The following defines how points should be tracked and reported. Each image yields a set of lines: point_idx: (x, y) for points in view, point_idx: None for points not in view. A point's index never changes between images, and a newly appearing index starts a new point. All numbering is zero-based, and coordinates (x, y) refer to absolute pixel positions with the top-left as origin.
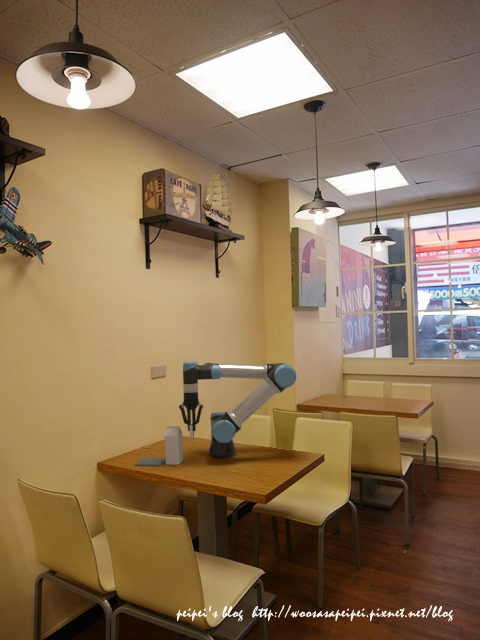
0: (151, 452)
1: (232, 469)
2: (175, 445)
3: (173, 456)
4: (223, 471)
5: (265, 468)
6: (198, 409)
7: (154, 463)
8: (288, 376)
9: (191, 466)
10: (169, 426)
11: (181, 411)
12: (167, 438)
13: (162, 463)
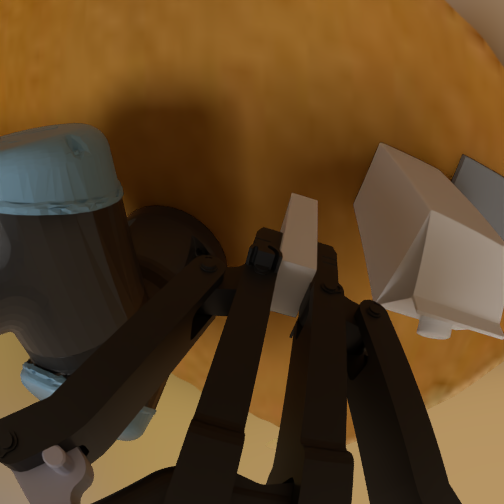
0: (446, 346)
1: (110, 31)
2: (425, 184)
3: (416, 166)
4: (147, 2)
5: (17, 57)
6: (83, 424)
7: (485, 186)
8: None
9: (312, 98)
10: (490, 331)
11: (437, 460)
12: (489, 231)
13: (453, 181)
